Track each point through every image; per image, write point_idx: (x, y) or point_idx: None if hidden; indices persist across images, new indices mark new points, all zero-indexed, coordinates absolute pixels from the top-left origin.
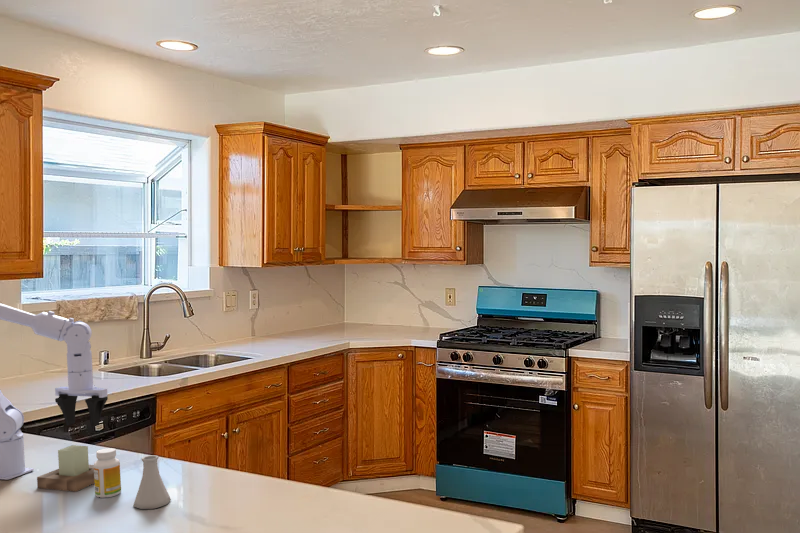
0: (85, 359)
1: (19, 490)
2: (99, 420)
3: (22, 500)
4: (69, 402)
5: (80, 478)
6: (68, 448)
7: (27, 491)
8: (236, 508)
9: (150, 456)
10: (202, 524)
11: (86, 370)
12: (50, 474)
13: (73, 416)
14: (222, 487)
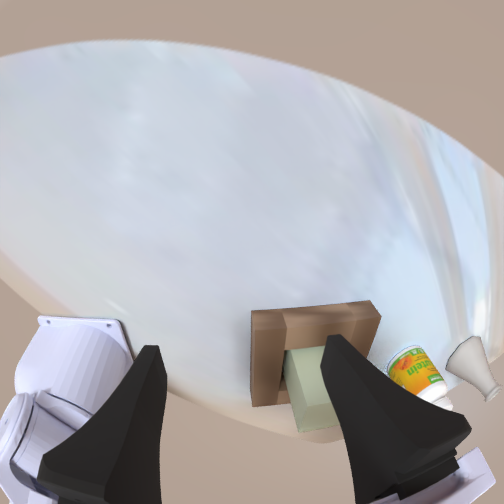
0: None
1: (224, 401)
2: (354, 349)
3: (276, 418)
4: (144, 480)
5: None
6: (318, 420)
7: (246, 400)
8: None
9: (494, 391)
10: (495, 357)
11: None
12: (270, 393)
13: (150, 380)
14: None
